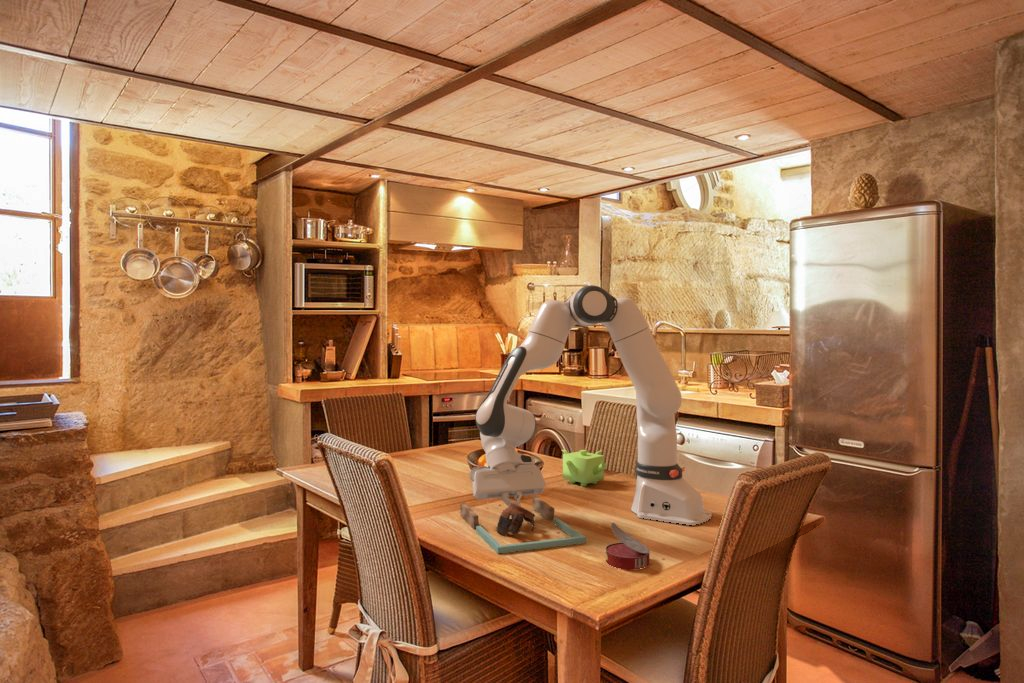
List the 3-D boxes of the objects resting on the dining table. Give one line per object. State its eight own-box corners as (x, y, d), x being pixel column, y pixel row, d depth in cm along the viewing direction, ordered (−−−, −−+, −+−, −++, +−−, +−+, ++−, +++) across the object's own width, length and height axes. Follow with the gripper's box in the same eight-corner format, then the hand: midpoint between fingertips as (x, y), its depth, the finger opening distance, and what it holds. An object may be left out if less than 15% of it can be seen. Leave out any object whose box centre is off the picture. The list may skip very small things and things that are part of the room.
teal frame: (476, 531, 170) (476, 526, 170) (557, 523, 178) (557, 517, 178) (497, 553, 154) (497, 547, 154) (585, 543, 162) (586, 537, 162)
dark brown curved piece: (492, 528, 175) (505, 500, 177) (524, 545, 174) (537, 516, 177) (495, 531, 163) (510, 500, 165) (529, 548, 163) (543, 517, 165)
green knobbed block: (560, 477, 231) (561, 445, 231) (601, 478, 231) (601, 446, 231) (563, 488, 216) (564, 454, 216) (606, 488, 216) (607, 454, 216)
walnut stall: (460, 515, 184) (460, 503, 184) (536, 508, 192) (536, 496, 192) (473, 529, 172) (474, 516, 172) (554, 521, 180) (554, 508, 180)
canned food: (620, 574, 155) (629, 532, 159) (654, 582, 147) (664, 538, 151) (589, 561, 149) (600, 517, 152) (624, 569, 141) (634, 523, 145)
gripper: (470, 461, 179) (480, 506, 170) (539, 456, 186) (553, 499, 177) (465, 473, 183) (475, 518, 175) (533, 468, 191) (546, 511, 182)
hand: (515, 509), depth 176 cm, fingers closed
